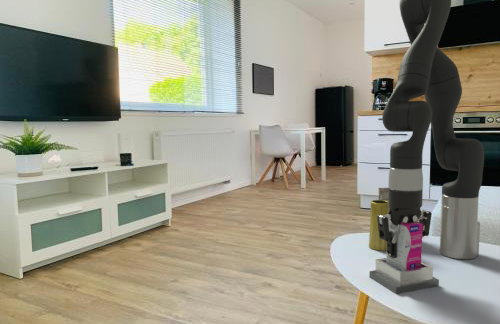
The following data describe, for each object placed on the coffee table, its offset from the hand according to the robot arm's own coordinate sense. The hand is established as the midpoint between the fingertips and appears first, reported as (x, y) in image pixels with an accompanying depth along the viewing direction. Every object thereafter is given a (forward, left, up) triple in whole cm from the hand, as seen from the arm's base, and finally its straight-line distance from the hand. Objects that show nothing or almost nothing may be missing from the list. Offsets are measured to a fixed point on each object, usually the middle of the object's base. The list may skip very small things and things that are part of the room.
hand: (403, 255), depth 93 cm
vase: (-10, -23, -7) cm, 26 cm away
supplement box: (0, 0, -3) cm, 3 cm away
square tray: (0, 0, -6) cm, 6 cm away
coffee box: (-19, -30, -7) cm, 36 cm away
